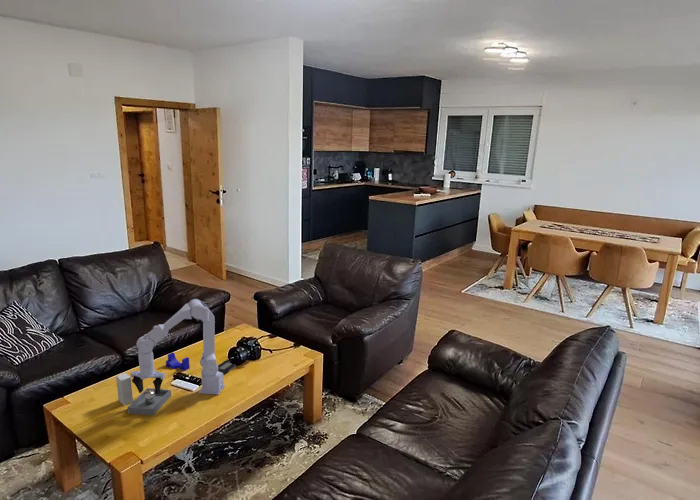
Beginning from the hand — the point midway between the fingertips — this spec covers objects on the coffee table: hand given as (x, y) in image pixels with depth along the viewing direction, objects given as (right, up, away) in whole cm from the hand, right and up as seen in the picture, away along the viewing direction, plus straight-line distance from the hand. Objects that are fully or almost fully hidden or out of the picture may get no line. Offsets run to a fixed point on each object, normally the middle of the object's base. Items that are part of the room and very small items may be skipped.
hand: (149, 392), depth 194 cm
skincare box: (-12, -5, +3) cm, 13 cm away
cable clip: (-1, +2, +34) cm, 34 cm away
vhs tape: (+24, +1, +34) cm, 42 cm away
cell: (0, -5, +1) cm, 5 cm away
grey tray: (0, -6, +1) cm, 6 cm away
